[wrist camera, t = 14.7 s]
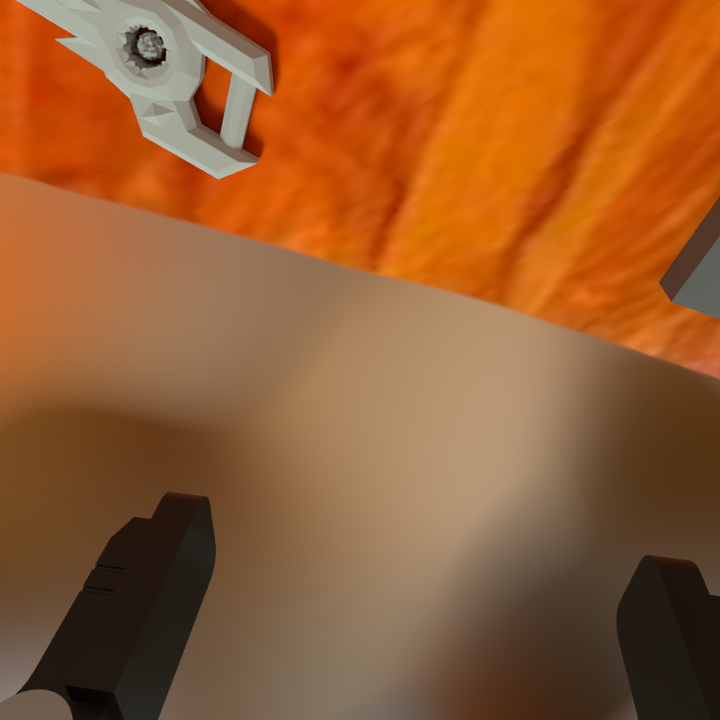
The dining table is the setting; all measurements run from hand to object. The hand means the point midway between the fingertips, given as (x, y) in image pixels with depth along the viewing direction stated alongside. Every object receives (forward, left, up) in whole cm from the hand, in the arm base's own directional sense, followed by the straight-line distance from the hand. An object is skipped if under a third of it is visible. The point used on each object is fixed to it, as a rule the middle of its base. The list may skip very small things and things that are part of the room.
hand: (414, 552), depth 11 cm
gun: (+3, -19, -37) cm, 42 cm away
